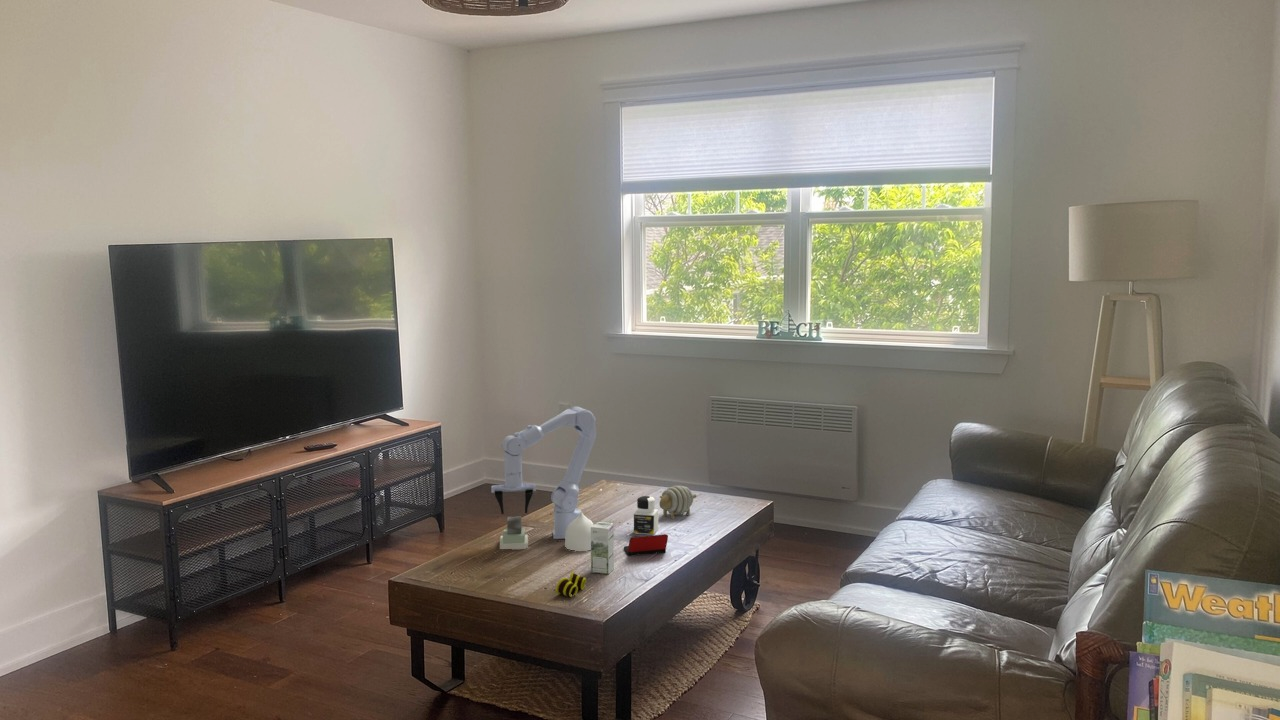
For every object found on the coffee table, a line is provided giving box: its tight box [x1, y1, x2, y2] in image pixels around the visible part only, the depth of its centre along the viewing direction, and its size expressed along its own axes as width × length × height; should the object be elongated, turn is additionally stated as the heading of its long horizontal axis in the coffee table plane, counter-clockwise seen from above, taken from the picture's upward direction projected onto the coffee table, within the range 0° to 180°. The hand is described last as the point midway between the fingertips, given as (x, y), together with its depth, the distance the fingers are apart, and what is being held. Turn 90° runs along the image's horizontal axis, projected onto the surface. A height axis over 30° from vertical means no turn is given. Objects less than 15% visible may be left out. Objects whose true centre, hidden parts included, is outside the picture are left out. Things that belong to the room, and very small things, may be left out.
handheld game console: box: [623, 533, 669, 557], centre depth 286 cm, size 12×11×7 cm
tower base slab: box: [499, 534, 529, 550], centre depth 294 cm, size 9×9×2 cm
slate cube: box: [506, 515, 523, 534], centre depth 294 cm, size 4×4×4 cm
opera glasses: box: [555, 571, 587, 598], centre depth 253 cm, size 10×5×5 cm, turn 157°
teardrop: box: [564, 510, 594, 552], centre depth 292 cm, size 11×11×12 cm
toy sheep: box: [658, 485, 697, 519], centre depth 326 cm, size 11×17×11 cm, turn 133°
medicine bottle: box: [633, 495, 659, 536], centre depth 308 cm, size 7×7×12 cm
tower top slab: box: [502, 528, 526, 544], centre depth 294 cm, size 7×7×2 cm
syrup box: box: [590, 521, 615, 575], centre depth 269 cm, size 6×6×14 cm
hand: (514, 512), depth 295 cm, fingers open, 7 cm apart
